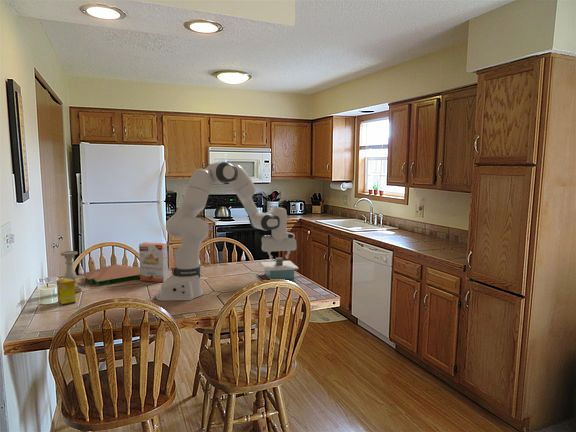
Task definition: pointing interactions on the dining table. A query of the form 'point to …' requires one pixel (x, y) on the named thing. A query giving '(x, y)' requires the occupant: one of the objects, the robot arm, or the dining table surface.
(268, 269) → the lid
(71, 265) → the candle holder
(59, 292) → the supplement box
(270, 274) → the teal open box
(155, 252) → the cracker box
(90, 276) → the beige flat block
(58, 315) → the dining table surface
